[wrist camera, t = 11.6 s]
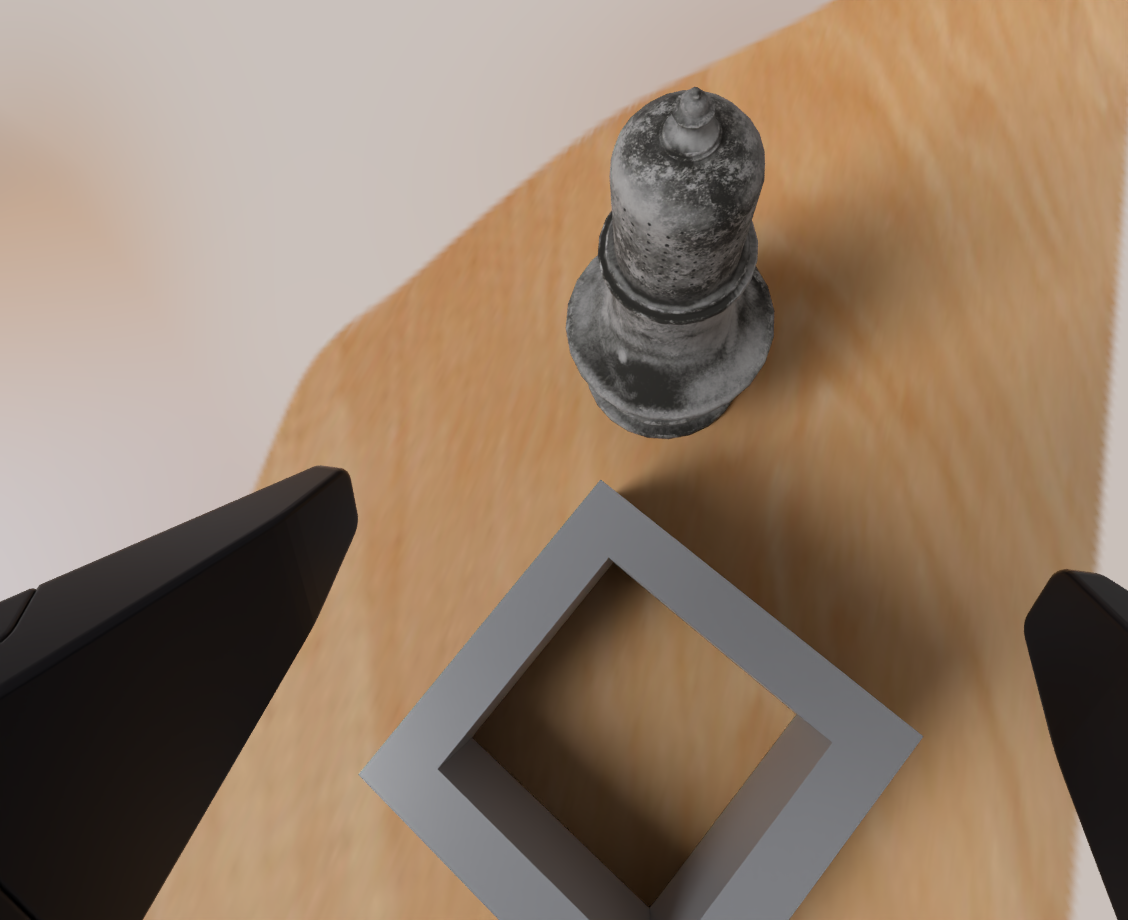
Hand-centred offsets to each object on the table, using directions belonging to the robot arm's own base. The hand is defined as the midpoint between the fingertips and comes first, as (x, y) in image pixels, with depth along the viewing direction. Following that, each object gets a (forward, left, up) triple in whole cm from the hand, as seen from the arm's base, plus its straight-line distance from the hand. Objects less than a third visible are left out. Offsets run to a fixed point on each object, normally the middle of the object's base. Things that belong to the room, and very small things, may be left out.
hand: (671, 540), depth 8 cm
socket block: (-4, -3, -12) cm, 13 cm away
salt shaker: (+6, +4, -12) cm, 14 cm away
